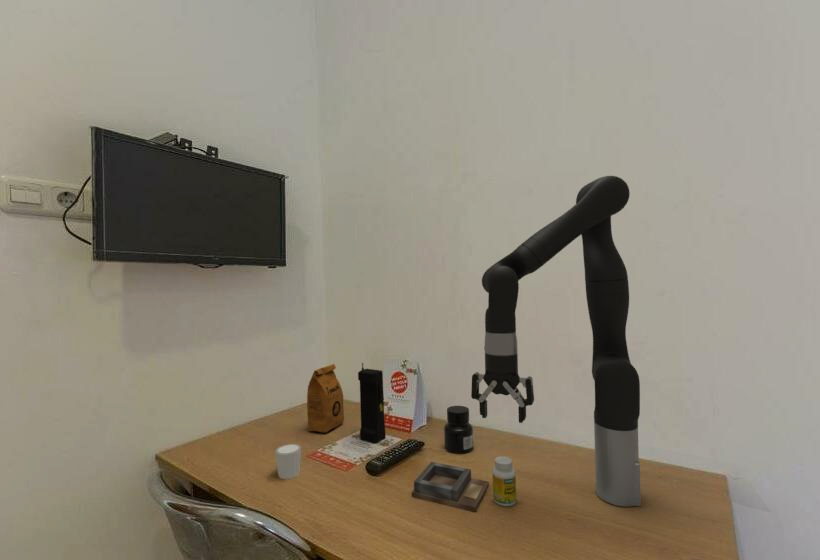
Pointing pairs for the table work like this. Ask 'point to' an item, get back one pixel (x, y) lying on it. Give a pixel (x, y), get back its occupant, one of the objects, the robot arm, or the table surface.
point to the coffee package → (324, 400)
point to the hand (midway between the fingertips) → (502, 419)
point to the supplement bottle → (504, 482)
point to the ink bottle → (458, 430)
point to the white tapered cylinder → (288, 460)
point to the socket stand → (450, 486)
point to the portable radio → (371, 405)
